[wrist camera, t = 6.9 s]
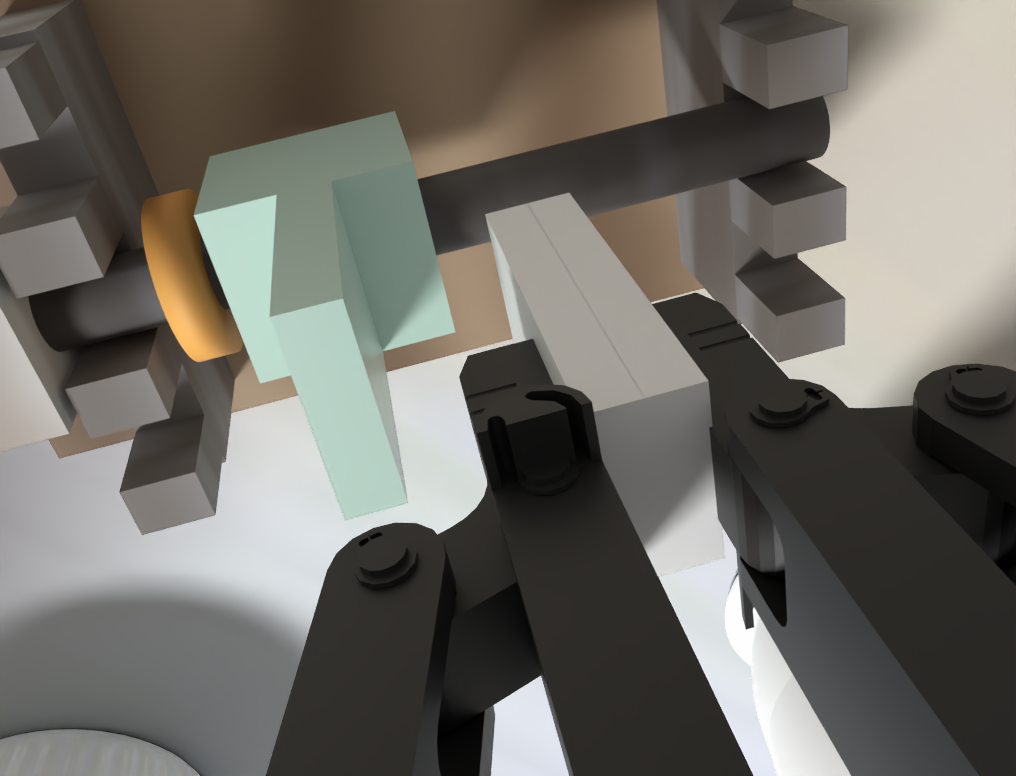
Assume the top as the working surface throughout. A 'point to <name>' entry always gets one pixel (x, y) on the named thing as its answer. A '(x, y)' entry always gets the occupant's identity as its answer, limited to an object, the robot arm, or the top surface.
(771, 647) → the jar
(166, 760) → the ramekin
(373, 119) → the mint green stepped block
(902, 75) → the top surface
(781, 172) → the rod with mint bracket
